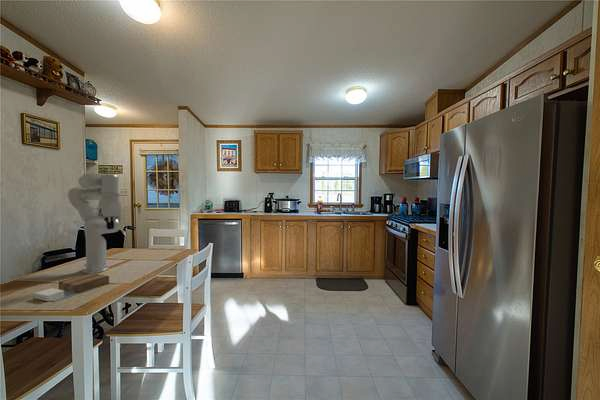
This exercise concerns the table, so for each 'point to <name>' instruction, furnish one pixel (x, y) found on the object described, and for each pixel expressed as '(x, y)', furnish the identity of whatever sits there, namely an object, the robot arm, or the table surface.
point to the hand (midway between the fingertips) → (110, 228)
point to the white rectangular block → (49, 294)
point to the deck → (83, 282)
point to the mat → (66, 295)
